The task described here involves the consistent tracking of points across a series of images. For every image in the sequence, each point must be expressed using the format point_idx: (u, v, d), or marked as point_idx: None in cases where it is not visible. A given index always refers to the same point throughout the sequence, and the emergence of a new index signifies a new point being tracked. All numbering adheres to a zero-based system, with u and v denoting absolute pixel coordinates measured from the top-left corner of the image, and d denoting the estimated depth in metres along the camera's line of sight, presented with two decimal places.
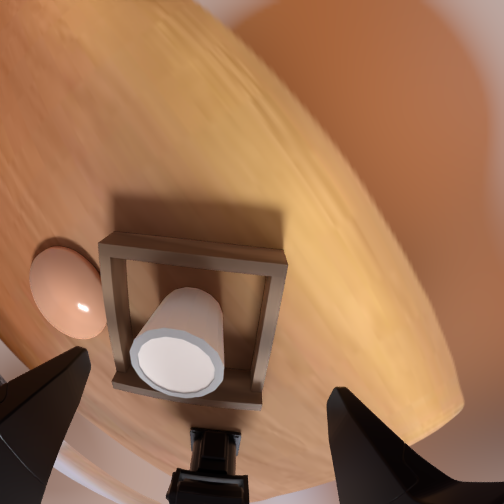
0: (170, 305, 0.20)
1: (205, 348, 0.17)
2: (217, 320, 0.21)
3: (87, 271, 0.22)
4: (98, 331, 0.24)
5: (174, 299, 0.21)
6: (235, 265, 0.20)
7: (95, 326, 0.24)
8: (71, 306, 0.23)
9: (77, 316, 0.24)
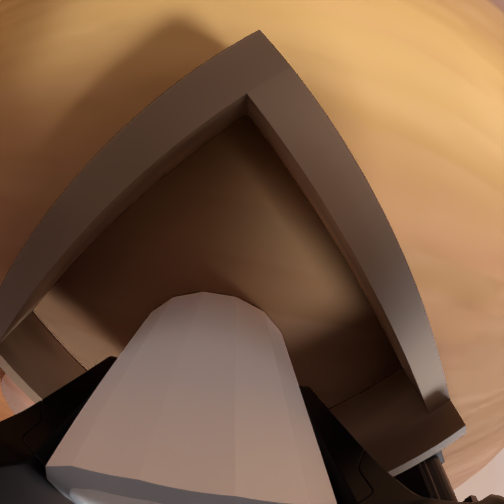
0: None
1: (178, 499, 0.03)
2: (230, 346, 0.07)
3: None
4: None
5: None
6: (122, 158, 0.05)
7: None
8: None
9: None
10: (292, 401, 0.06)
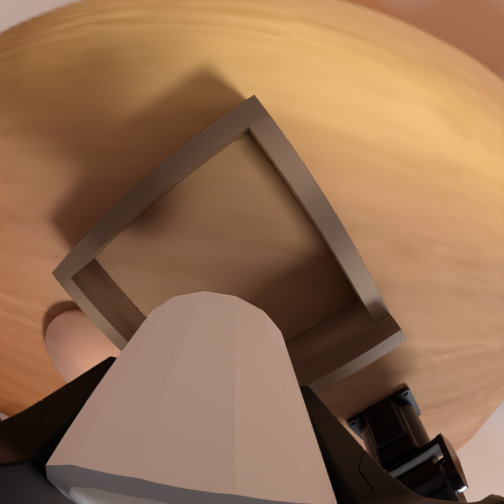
0: None
1: (178, 497, 0.03)
2: (230, 345, 0.07)
3: (86, 320, 0.17)
4: None
5: None
6: (190, 153, 0.11)
7: None
8: None
9: None
10: (292, 400, 0.06)
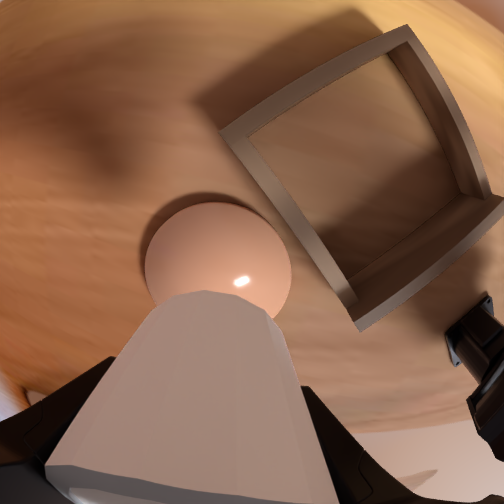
0: None
1: (179, 498, 0.03)
2: (231, 344, 0.07)
3: (225, 209, 0.17)
4: (287, 285, 0.19)
5: None
6: (374, 46, 0.12)
7: (279, 281, 0.19)
8: (232, 283, 0.19)
9: (248, 290, 0.19)
10: (293, 399, 0.06)
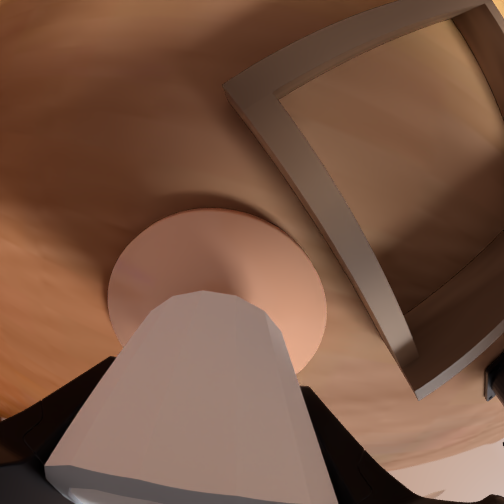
0: None
1: (178, 498, 0.03)
2: (230, 344, 0.07)
3: (228, 221, 0.11)
4: (319, 334, 0.12)
5: None
6: None
7: (308, 329, 0.12)
8: None
9: None
10: (293, 400, 0.06)
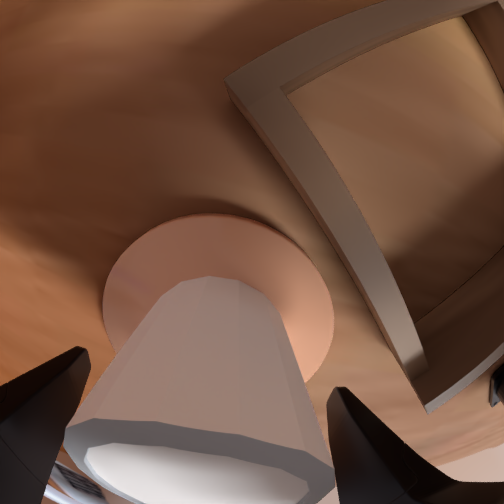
0: None
1: (189, 441, 0.04)
2: (234, 318, 0.08)
3: (230, 227, 0.10)
4: (325, 346, 0.12)
5: None
6: None
7: (314, 341, 0.12)
8: None
9: None
10: (289, 367, 0.07)
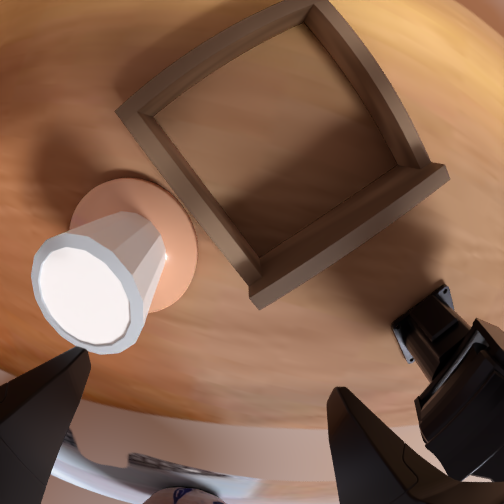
0: None
1: (73, 242, 0.11)
2: (118, 220, 0.15)
3: (130, 183, 0.17)
4: (193, 259, 0.19)
5: None
6: (272, 13, 0.11)
7: (184, 255, 0.19)
8: None
9: None
10: (136, 241, 0.14)
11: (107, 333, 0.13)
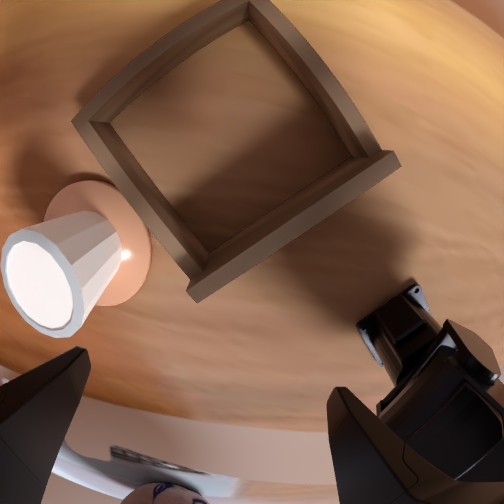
0: None
1: (28, 237, 0.11)
2: (73, 218, 0.15)
3: (90, 185, 0.17)
4: (146, 255, 0.19)
5: None
6: (206, 15, 0.12)
7: (138, 250, 0.19)
8: None
9: None
10: (85, 236, 0.14)
11: (58, 318, 0.13)
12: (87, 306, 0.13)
